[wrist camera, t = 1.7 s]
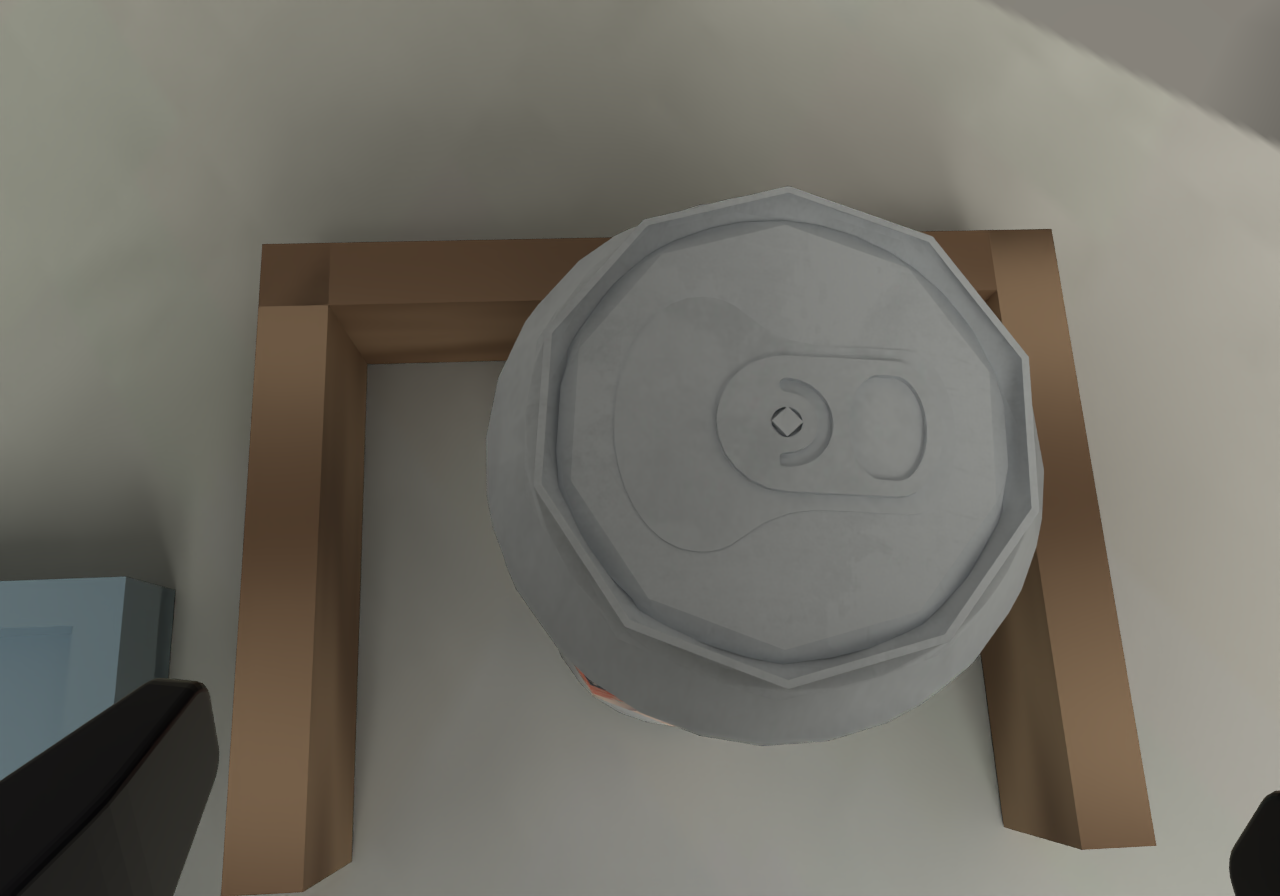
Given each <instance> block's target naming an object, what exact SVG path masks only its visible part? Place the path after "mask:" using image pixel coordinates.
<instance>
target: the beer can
mask: <svg viewBox="0 0 1280 896" xmlns="http://www.w3.org/2000/svg"><path fill="white" fill-rule="evenodd" d="M486 474H487V499H488V505H489V510H490V516H491V521H492V527H493V530H494V532H495V535H496V538H497V540H498V543H499V545H500V548H501V551H502V553H503V556H504V559H505V563H506V566H507V568H508V571H509V573H510V576H511V578H512V580H513V583H514V585H515V587H516V590H517V591H518V592H519V594H520V595H521V597H522V598H523V600H524V601H525V602H526V604H527V605H528V607H529V608H530V609H531V611H532V612H533V614H534V615H535V617H536V618H537V619H538V621H539V622H540V624H541V625H542V627H543V628H544V629H545V631H546V632H547V634H548V635H549V636H550V638H551V639H552V641H553V642H554V644H555V645H556V646H557V648H558V649H559V652H560V654H561V657H562V658H563V659H564V661H565V662H566V664H567V665H568V666H569V668H570V669H571V671H572V672H573V674H574V675H575V676H576V678H577V679H578V681H579V682H580V683H581V684H582V685H583V686H584V687H585V688H586V689H587V690H588V691H589V692H590V693H591V694H592V695H593V696H594V697H595V698H597V699H598V700H600V701H602V702H603V703H605V704H607V705H608V706H610V707H611V708H613V709H615V710H616V711H618V712H620V713H622V714H625V715H628V716H631V717H634V718H637V719H639V720H642V721H645V722H649V723H656V724H663V725H669V726H674V727H678V728H681V729H684V730H686V731H689V732H692V733H694V734H697V735H699V736H705V737H711V738H717V739H723V740H729V741H735V742H741V743H747V744H753V745H759V746H769V745H782V744H796V743H809V742H822V741H830V740H833V739H836V738H840V737H843V736H846V735H849V734H853V733H856V732H859V731H863V730H866V729H869V728H872V727H876V726H879V725H882V724H885V723H888V722H890V721H891V720H893V719H895V718H897V717H899V716H901V715H903V714H905V713H907V712H908V711H910V710H912V709H914V708H916V707H918V706H920V705H921V704H922V703H924V702H925V701H926V700H927V699H929V698H930V697H931V696H933V695H935V694H936V693H937V692H939V691H940V690H941V689H942V688H943V687H945V686H946V685H947V684H948V683H950V682H951V681H952V680H953V679H954V678H956V677H957V676H958V675H959V674H961V673H962V672H963V671H964V670H966V669H967V668H968V667H969V666H970V665H971V664H972V663H973V662H974V661H975V659H976V658H977V657H978V655H979V654H980V652H981V651H982V650H983V648H984V647H985V645H986V644H987V643H988V641H989V640H990V638H991V637H992V636H993V634H994V633H995V631H996V630H997V629H998V627H999V626H1000V624H1001V623H1002V622H1003V620H1004V619H1005V617H1006V616H1007V615H1008V613H1009V612H1010V610H1011V608H1012V606H1013V604H1014V603H1015V601H1016V599H1017V597H1018V595H1019V593H1020V592H1021V590H1022V587H1023V584H1024V581H1025V578H1026V575H1027V573H1028V570H1029V567H1030V564H1031V561H1032V558H1033V555H1034V552H1035V549H1036V546H1037V541H1038V536H1039V531H1040V526H1041V521H1042V507H1043V484H1044V467H1043V462H1042V456H1041V451H1040V445H1039V440H1038V434H1037V429H1036V423H1035V418H1034V412H1033V407H1032V396H1031V381H1030V366H1029V357H1028V355H1027V354H1026V353H1025V352H1024V350H1023V349H1022V348H1021V347H1020V345H1019V344H1018V343H1017V342H1016V340H1015V339H1014V338H1013V337H1012V335H1011V334H1010V333H1009V332H1008V330H1007V329H1006V328H1005V326H1004V325H1003V324H1002V323H1001V321H1000V320H999V319H998V318H997V316H996V315H995V314H994V313H993V311H992V310H991V309H990V308H989V306H988V305H987V304H986V303H985V301H984V300H983V299H982V298H981V296H980V295H979V294H978V293H977V291H976V290H975V289H974V288H973V286H972V285H971V284H970V283H969V281H968V280H967V279H966V278H965V276H964V275H963V274H962V273H961V271H960V270H959V269H958V268H957V266H956V265H955V264H954V263H953V261H952V260H951V259H950V258H949V256H948V255H947V254H946V253H945V251H944V250H943V249H942V248H941V246H940V245H939V244H938V243H937V241H936V240H935V239H934V238H933V236H930V235H927V234H924V233H921V232H919V231H916V230H913V229H910V228H907V227H904V226H902V225H899V224H896V223H893V222H890V221H887V220H885V219H882V218H879V217H876V216H873V215H870V214H867V213H865V212H862V211H859V210H856V209H853V208H850V207H848V206H845V205H842V204H839V203H836V202H833V201H831V200H828V199H825V198H822V197H819V196H816V195H813V194H811V193H808V192H805V191H802V190H799V189H796V188H794V187H791V186H786V187H781V188H777V189H773V190H769V191H764V192H760V193H756V194H751V195H747V196H743V197H737V198H731V199H726V200H722V201H719V202H715V203H712V204H700V205H697V206H694V207H691V208H688V209H685V210H682V211H678V212H674V213H669V214H665V215H661V216H656V217H652V218H648V219H643V221H642V222H641V223H640V224H639V225H638V226H635V227H632V228H630V229H628V230H626V231H624V232H621V233H619V234H617V235H615V236H614V237H613V238H611V239H610V240H608V241H607V242H605V243H604V244H602V245H601V246H600V247H598V248H597V249H595V250H594V251H592V252H591V253H589V254H588V255H587V256H585V257H584V258H582V259H581V260H579V261H578V262H577V263H576V265H575V266H574V267H573V268H572V269H571V270H570V271H569V272H568V273H567V274H566V275H565V276H564V278H563V279H562V280H561V281H560V282H559V283H558V284H557V285H556V286H555V287H554V288H553V289H552V290H551V292H550V293H549V294H548V295H547V296H546V297H545V298H544V299H543V300H542V301H541V302H540V303H539V304H538V306H537V307H536V308H535V310H534V311H533V312H532V314H531V315H530V316H529V318H528V319H527V320H526V321H525V323H524V325H523V327H522V329H521V332H520V334H519V336H518V338H517V340H516V342H515V344H514V346H513V348H512V350H511V352H510V354H509V357H508V359H507V361H506V363H505V365H504V367H503V369H502V371H501V373H500V376H499V378H498V382H497V386H496V391H495V396H494V401H493V406H492V411H491V416H490V421H489V426H488V431H487V435H486Z"/></svg>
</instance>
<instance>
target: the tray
mask: <svg viewBox="0 0 1280 896" xmlns="http://www.w3.org/2000/svg"><path fill="white" fill-rule="evenodd" d="M174 599H175V590H172V589H169V588H165V587H161V586H158V585H154V584H151V583H147V582H144V581H140V580H137V579H133V578H130V577H99V578H72V579H45V580H18V581H0V780H2V779H3V778H5V777H6V776H8V775H9V774H11V773H12V772H14V771H15V770H17V769H18V768H20V767H21V766H23V765H24V764H25V763H27V762H28V761H30V760H31V759H33V758H34V757H36V756H37V755H39V754H40V753H42V752H43V751H45V750H46V749H48V748H49V747H51V746H52V745H54V744H55V743H57V742H58V741H60V740H61V739H63V738H64V737H66V736H67V735H68V734H70V733H71V732H73V731H74V730H76V729H77V728H79V727H80V726H82V725H83V724H85V723H86V722H88V721H89V720H91V719H92V718H94V717H95V716H97V715H98V714H100V713H101V712H103V711H104V710H106V709H107V708H109V707H110V706H111V705H113V704H114V703H116V702H117V701H119V700H120V699H122V698H123V697H125V696H126V695H128V694H129V693H131V692H132V691H134V690H135V689H137V688H138V687H140V686H141V685H143V684H144V683H146V682H148V681H150V680H153V679H156V678H168V673H169V660H170V648H171V636H172V623H173V611H174Z"/></svg>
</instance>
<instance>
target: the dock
mask: <svg viewBox="0 0 1280 896" xmlns="http://www.w3.org/2000/svg"><path fill="white" fill-rule="evenodd" d="M921 233H924V234H927V235H930V236H933V238H934V239H935V240H936V241H937V243H938V244H939V245H940V246H941V248H942V249H943V250H944V251H945V253H946V254H947V255H948V256H949V258H950V259H951V260H952V261H953V263H954V264H955V265H956V266H957V268H958V269H959V270H960V271H961V273H962V274H963V275H964V276H965V278H966V279H967V280H968V281H969V283H970V284H971V285H972V286H973V288H974V289H975V290H976V291H977V293H978V294H979V295H980V296H981V298H982V299H983V300H984V301H985V303H986V304H987V305H988V306H989V308H990V309H991V310H992V311H993V313H994V314H995V315H996V316H997V318H998V319H999V320H1000V321H1001V323H1002V324H1003V325H1004V326H1005V328H1006V329H1007V330H1008V332H1009V333H1010V334H1011V335H1012V337H1013V338H1014V339H1015V340H1016V342H1017V343H1018V344H1019V345H1020V347H1021V348H1022V349H1023V350H1024V352H1025V353H1026V354H1027V355H1028V357H1029V366H1030V381H1031V396H1032V407H1033V412H1034V418H1035V423H1036V429H1037V434H1038V440H1039V445H1040V451H1041V456H1042V462H1043V467H1044V484H1043V507H1042V521H1041V526H1040V531H1039V536H1038V541H1037V546H1036V549H1035V552H1034V555H1033V558H1032V561H1031V564H1030V567H1029V570H1028V573H1027V575H1026V578H1025V581H1024V584H1023V587H1022V590H1021V592H1020V593H1019V595H1018V597H1017V599H1016V601H1015V603H1014V604H1013V606H1012V608H1011V610H1010V612H1009V613H1008V615H1007V616H1006V617H1005V619H1004V620H1003V622H1002V623H1001V624H1000V626H999V627H998V629H997V630H996V631H995V633H994V634H993V636H992V637H991V638H990V640H989V641H988V643H987V644H986V645H985V647H984V648H983V650H982V651H981V658H982V665H983V673H984V680H985V688H986V696H987V703H988V711H989V718H990V726H991V733H992V741H993V748H994V756H995V763H996V771H997V778H998V786H999V794H1000V801H1001V809H1002V816H1003V824H1004V827H1005V828H1009V829H1012V830H1016V831H1019V832H1023V833H1026V834H1030V835H1033V836H1036V837H1040V838H1043V839H1047V840H1050V841H1054V842H1057V843H1061V844H1064V845H1068V846H1071V847H1074V848H1078V849H1081V850H1085V849H1103V848H1122V847H1140V846H1156V841H1155V835H1154V829H1153V823H1152V818H1151V812H1150V806H1149V800H1148V794H1147V788H1146V782H1145V776H1144V771H1143V765H1142V759H1141V753H1140V747H1139V741H1138V735H1137V729H1136V724H1135V718H1134V712H1133V706H1132V700H1131V694H1130V688H1129V682H1128V677H1127V671H1126V665H1125V659H1124V653H1123V647H1122V641H1121V635H1120V630H1119V624H1118V618H1117V612H1116V606H1115V600H1114V594H1113V588H1112V582H1111V577H1110V571H1109V565H1108V559H1107V553H1106V547H1105V541H1104V535H1103V530H1102V524H1101V518H1100V512H1099V506H1098V500H1097V494H1096V488H1095V483H1094V477H1093V471H1092V465H1091V459H1090V453H1089V447H1088V441H1087V436H1086V430H1085V424H1084V418H1083V412H1082V406H1081V400H1080V394H1079V389H1078V383H1077V377H1076V371H1075V365H1074V359H1073V353H1072V347H1071V342H1070V336H1069V330H1068V324H1067V318H1066V312H1065V306H1064V300H1063V295H1062V289H1061V283H1060V277H1059V271H1058V265H1057V259H1056V253H1055V248H1054V242H1053V236H1052V230H1051V229H1030V230H978V231H926V232H921ZM610 239H611V238H561V239H509V240H457V241H404V242H352V243H300V244H262V260H261V275H260V291H259V307H258V322H257V338H256V354H255V370H254V385H253V401H252V417H251V433H250V448H249V464H248V480H247V495H246V511H245V527H244V543H243V558H242V574H241V590H240V606H239V621H238V637H237V653H236V668H235V684H234V700H233V716H232V731H231V747H230V763H229V779H228V794H227V810H226V826H225V841H224V857H223V873H222V889H221V896H239V895H258V894H276V893H294V892H304V891H305V890H307V889H308V888H310V887H312V886H313V885H315V884H316V883H318V882H320V881H321V880H323V879H324V878H326V877H328V876H329V875H331V874H333V873H334V872H336V871H337V870H339V869H341V868H342V867H344V866H345V865H347V864H349V863H350V862H352V836H353V804H354V773H355V741H356V709H357V677H358V646H359V614H360V582H361V550H362V519H363V487H364V455H365V423H366V392H367V364H390V363H429V362H468V361H507V359H508V357H509V354H510V352H511V350H512V348H513V346H514V344H515V342H516V340H517V338H518V336H519V334H520V332H521V329H522V327H523V325H524V323H525V321H526V320H527V319H528V318H529V316H530V315H531V314H532V312H533V311H534V310H535V308H536V307H537V306H538V304H539V303H540V302H541V301H542V300H543V299H544V298H545V297H546V296H547V295H548V294H549V293H550V292H551V290H552V289H553V288H554V287H555V286H556V285H557V284H558V283H559V282H560V281H561V280H562V279H563V278H564V276H565V275H566V274H567V273H568V272H569V271H570V270H571V269H572V268H573V267H574V266H575V265H576V263H577V262H578V261H579V260H581V259H582V258H584V257H585V256H587V255H588V254H589V253H591V252H592V251H594V250H595V249H597V248H598V247H600V246H601V245H602V244H604V243H605V242H607V241H608V240H610Z"/></svg>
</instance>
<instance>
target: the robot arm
mask: <svg viewBox="0 0 1280 896" xmlns="http://www.w3.org/2000/svg"><path fill="white" fill-rule="evenodd" d="M218 763H219V747H218V741H217V735H216V729H215V723H214V717H213V712H212V706H211V700H210V695H209V692H208V689H207V688H206V686H205V685H204V684H203V683H200V682H198V681H188V680H179V679H169V678H156V679H153V680H150V681H148V682H146V683H144V684H143V685H141V686H140V687H138V688H137V689H135V690H134V691H132V692H131V693H129V694H128V695H126V696H125V697H123V698H122V699H120V700H119V701H117V702H116V703H114V704H113V705H111V706H110V707H109V708H107V709H106V710H104V711H103V712H101V713H100V714H98V715H97V716H95V717H94V718H92V719H91V720H89V721H88V722H86V723H85V724H83V725H82V726H80V727H79V728H77V729H76V730H74V731H73V732H71V733H70V734H68V735H67V736H66V737H64V738H63V739H61V740H60V741H58V742H57V743H55V744H54V745H52V746H51V747H49V748H48V749H46V750H45V751H43V752H42V753H40V754H39V755H37V756H36V757H34V758H33V759H31V760H30V761H28V762H27V763H25V764H24V765H23V766H21V767H20V768H18V769H17V770H15V771H14V772H12V773H11V774H9V775H8V776H6V777H5V778H3V779H2V780H0V896H173V895H174V892H175V889H176V887H177V884H178V881H179V878H180V875H181V873H182V870H183V867H184V864H185V861H186V859H187V856H188V853H189V850H190V848H191V845H192V842H193V839H194V836H195V834H196V831H197V828H198V825H199V823H200V820H201V817H202V814H203V811H204V809H205V806H206V803H207V800H208V797H209V795H210V792H211V789H212V786H213V784H214V781H215V777H216V774H217V769H218ZM1229 870H1230V878H1231V883H1232V886H1233V889H1234V893H1235V896H1280V791H1274V792H1272V793H1271V794H1269V795H1267V796H1266V797H1265V798H1264V799H1263V801H1262V802H1261V804H1260V805H1259V807H1258V809H1257V810H1256V812H1255V813H1254V815H1253V817H1252V818H1251V820H1250V821H1249V823H1248V825H1247V826H1246V828H1245V829H1244V831H1243V833H1242V834H1241V836H1240V837H1239V839H1238V841H1237V842H1236V844H1235V845H1234V847H1233V849H1232V851H1231V855H1230V862H1229Z"/></svg>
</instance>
